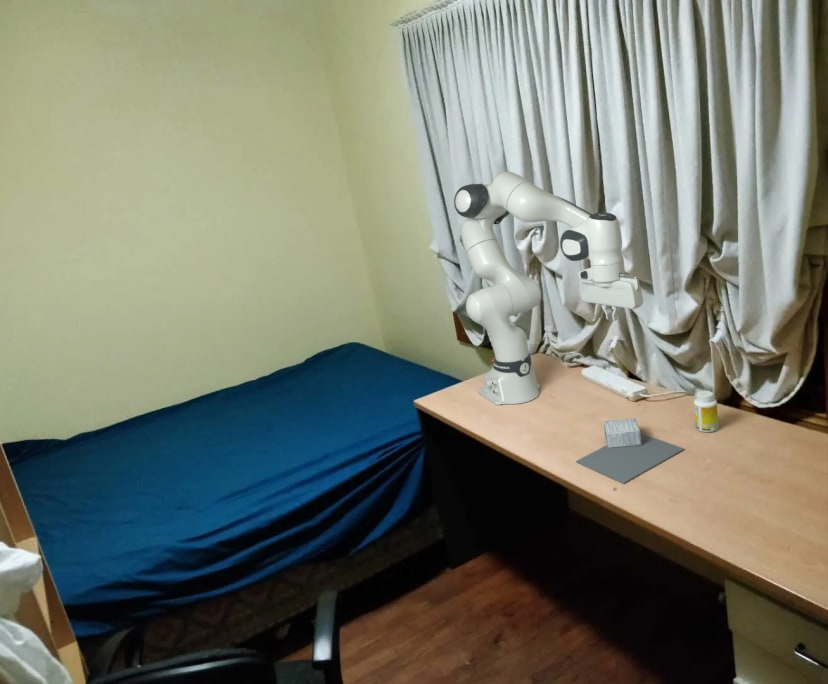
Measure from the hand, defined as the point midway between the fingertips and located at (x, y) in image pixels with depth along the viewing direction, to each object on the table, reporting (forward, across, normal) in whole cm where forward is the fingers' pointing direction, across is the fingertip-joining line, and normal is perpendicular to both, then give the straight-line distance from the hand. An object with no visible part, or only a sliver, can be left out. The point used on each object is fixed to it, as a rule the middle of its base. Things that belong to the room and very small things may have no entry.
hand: (612, 319), depth 179 cm
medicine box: (+26, -9, +16) cm, 33 cm away
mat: (+29, -19, +18) cm, 39 cm away
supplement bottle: (+29, -24, -6) cm, 38 cm away
